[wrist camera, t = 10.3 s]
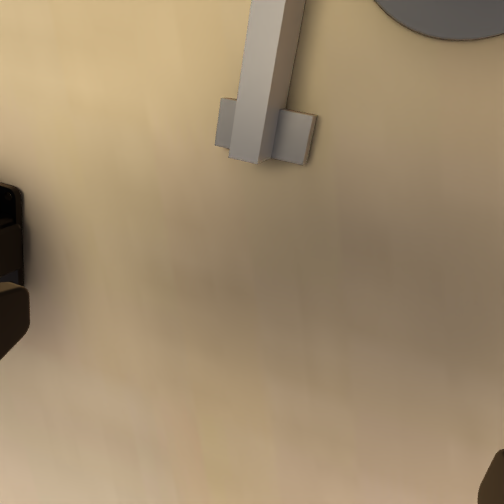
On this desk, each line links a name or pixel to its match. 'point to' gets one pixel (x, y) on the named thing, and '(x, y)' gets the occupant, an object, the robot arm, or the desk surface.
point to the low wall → (267, 90)
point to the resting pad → (448, 17)
